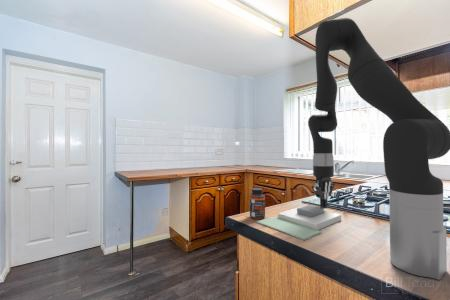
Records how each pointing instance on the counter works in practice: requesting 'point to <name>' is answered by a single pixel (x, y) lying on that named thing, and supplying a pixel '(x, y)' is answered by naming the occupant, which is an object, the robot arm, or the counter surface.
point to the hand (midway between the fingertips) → (323, 207)
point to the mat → (289, 228)
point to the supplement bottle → (257, 204)
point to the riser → (310, 219)
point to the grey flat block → (310, 211)
